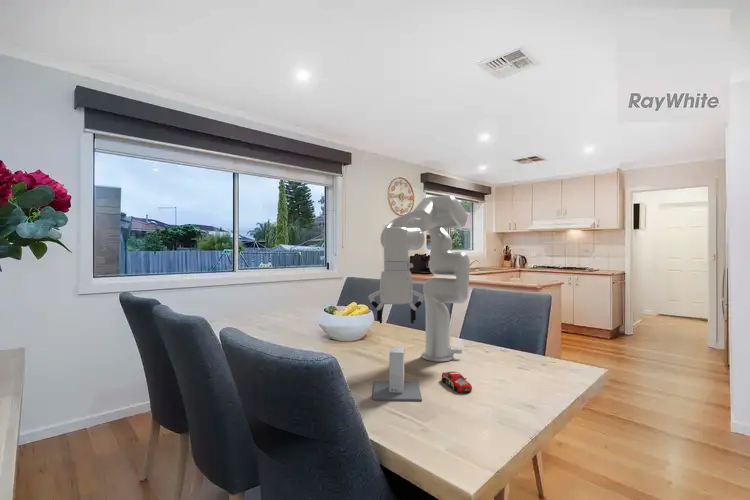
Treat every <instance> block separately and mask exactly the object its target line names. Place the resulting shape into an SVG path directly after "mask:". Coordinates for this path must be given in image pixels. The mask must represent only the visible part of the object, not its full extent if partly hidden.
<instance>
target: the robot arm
mask: <svg viewBox="0 0 750 500" xmlns="http://www.w3.org/2000/svg"><path fill="white" fill-rule="evenodd" d="M467 216H468V215H467V211H466V209H465V208H464V206H463V205H462V204H461V202H460V201H459V200H458V199H457V198H456V197H454V196H453V195H437V196H436V195H435V196H434V195H433V196H427V197H425V198H423V199H422V200H421V201H420V202H419V203H418V205H416V207H415V208H414V209H413V210H412V211H410V212H408V213H406V214H403V215H401V216H398V217H396V218H394V219H392V220H391V221H390V222H389V223H388V224H386V226H385V227H384V228H383V230H382V232H381V234H380V244H381V247H382V248H383V270H382V271H381V274H380V280H379V281H380V282H379V289H378V290H377V291H374V292H372V293H371V294H369V295H368V296H367V297H368V300H369V302H370V303H371V305H372V307H374V308H375V309H376V311H377V312H376V313H377V314H376V315H377V317H376V318H377V321H379V324H383V309H382V308H383V307H384V305H409V307H410V323H411V324H415V323H414V321H416V318H417V317H416V311H417V309H418V308H419V307H421V305H422V303H423V301H424V307H425V351H423V352H422V353H421V357H422V358H423V359H424V360H427V361H428V362H429V361H430V362H438V363H441V362H443V363H444V362H450V361H452V360H453V359H454V356H455V355H454V354H457V355H462V353H463V350H462V348H458V347H452V346H451V344H450V343H451V340H450V337H451V335H450V333H451V331H450V330H451V326H450V324H451V323H450V321H451V315H450V311H449V309H448V307H447V305H446V304H447V303H448V304H464V303H466V301H467V299H468V296H469V284H470V283H469V282H470V272H471V270H470V269H471V268H470V267H471V265H470V264H471V263H470V262H471V261H470V257H469V255H468V254H467V253H466V252H462V251H453V239H452V237H451V235H450V234H449V232H448V231H446V229H460V228H464V227H465V225H466V223H467V220H468V219H467ZM426 231H427V232H428V234H429V236H430V237H429V238H430V252H429V254H430V255H429V265H428V266H429V271H430V273H431V274H433V275H436V276H453V277H454V276H455V278H446V277H445V278H444V277H432V278H428V279H426V281H424V283H423V286H422V288H423V289H422V292H423V293H420V292H418V291H417V290H414V289H413V288H414V287H413V278H412V277H413V276H412V271H409V270H410V269H411V268H414V263H411V262H410V261H409V251H417V250H420V249H421V248H423V246H424V243H425V239H426V238H425V234H424V233H425V232H426ZM377 296H379V302H377V301H375V300H376V299H374V298H376V297H377ZM414 296H416V297H418V300H416V302H415V303H414V302H413V301H414Z"/></svg>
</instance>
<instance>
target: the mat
mask: <svg viewBox="0 0 750 500" xmlns="http://www.w3.org/2000/svg"><path fill="white" fill-rule="evenodd" d="M422 397H423V396H422V394H421V389H420V384H419V382H418V381H404V389H403V393H393V392H389V381H386V380H385V381H384V380H383V381H382V380H381V381H380V380H378V381H376V380H375V381H374V382H373V393H372V401H390V402H391V401H392V402H394V401H396V402H397V401H398V402H399V401H400V402H401V401H403V402H423V398H422Z"/></svg>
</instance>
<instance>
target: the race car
mask: <svg viewBox="0 0 750 500" xmlns="http://www.w3.org/2000/svg"><path fill="white" fill-rule="evenodd" d="M441 382H442V383H443V384H444V385H447V387H449V388H450V389H452V390H453V391H454V392H456V393H470V392H471V391H472V390H473V386H472V384H471V383H470V382H469V381H467V377H464V376H463V375H462V374H461V373H459V372H457V371H443V372H442V373H441Z"/></svg>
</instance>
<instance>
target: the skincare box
mask: <svg viewBox="0 0 750 500" xmlns="http://www.w3.org/2000/svg"><path fill="white" fill-rule="evenodd" d="M388 366H389V367H388V368H389V369H388V370H389V372H388V373H389V375H388V376H389V379H388V380H389V392H393V393H403V389H404V382H405V348H404V347H391V348H390V351H389V365H388Z"/></svg>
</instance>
